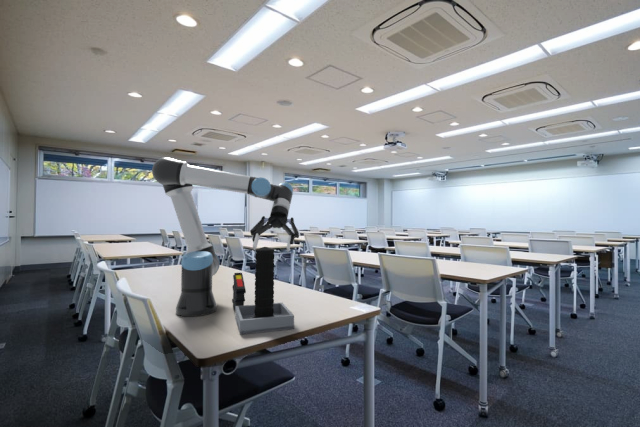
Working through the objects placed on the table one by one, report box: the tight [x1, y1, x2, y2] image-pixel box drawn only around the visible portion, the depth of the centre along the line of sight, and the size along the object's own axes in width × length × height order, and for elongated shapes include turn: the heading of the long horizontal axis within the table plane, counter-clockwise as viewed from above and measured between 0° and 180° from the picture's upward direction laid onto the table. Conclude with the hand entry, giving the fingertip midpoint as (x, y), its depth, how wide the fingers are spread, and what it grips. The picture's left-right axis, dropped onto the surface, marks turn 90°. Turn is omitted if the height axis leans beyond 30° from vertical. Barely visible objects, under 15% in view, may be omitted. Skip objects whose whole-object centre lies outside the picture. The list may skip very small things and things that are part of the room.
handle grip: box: [251, 246, 275, 319], centre depth 115 cm, size 10×26×10 cm
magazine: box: [231, 272, 247, 312], centre depth 130 cm, size 4×13×15 cm, turn 21°
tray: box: [234, 302, 295, 335], centre depth 114 cm, size 18×18×4 cm
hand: (270, 249), depth 126 cm, fingers open, 13 cm apart
